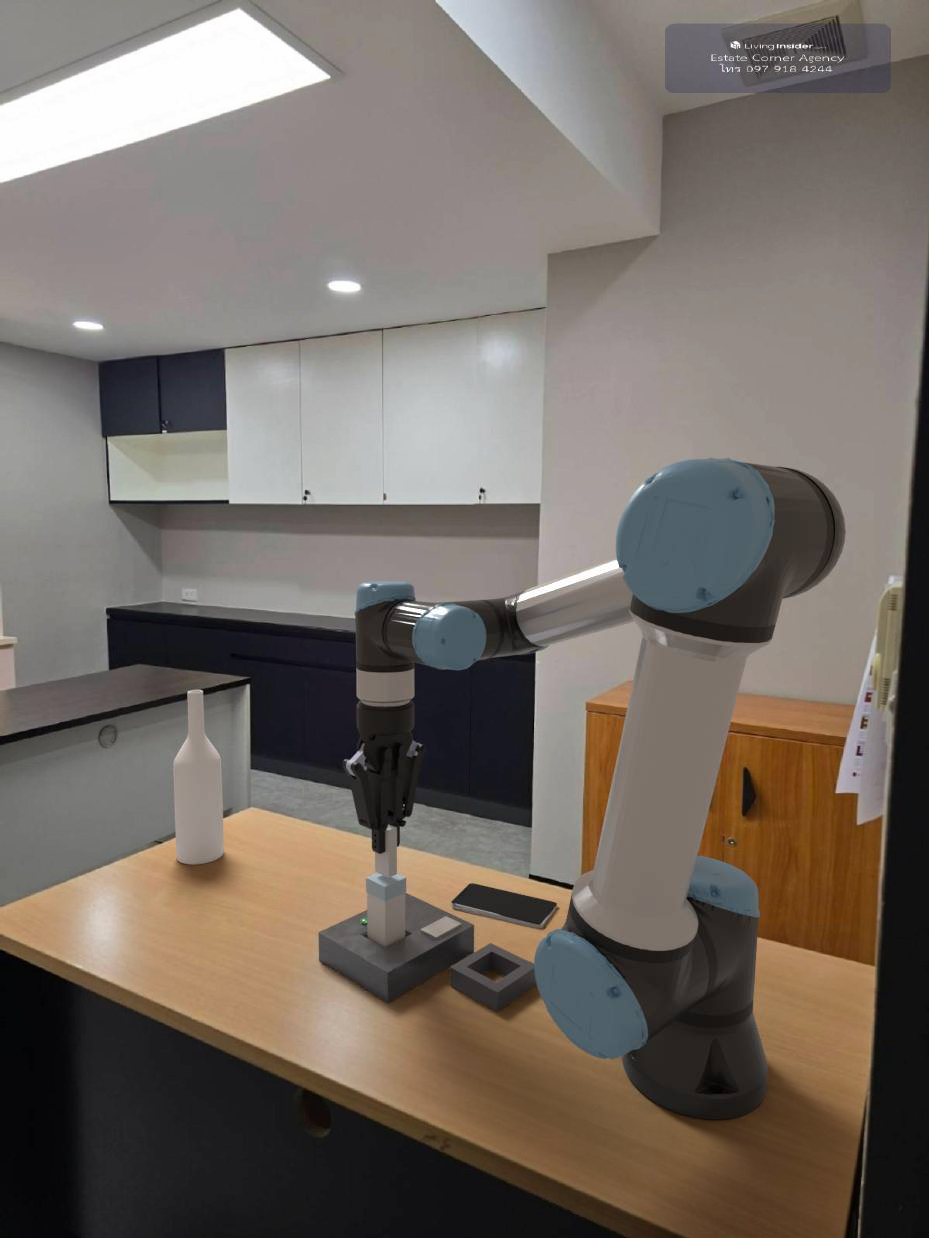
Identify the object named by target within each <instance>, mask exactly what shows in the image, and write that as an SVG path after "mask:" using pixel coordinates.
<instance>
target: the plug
mask: <svg viewBox="0 0 929 1238" xmlns="http://www.w3.org/2000/svg"><path fill="white" fill-rule="evenodd" d="M365 891H366V895H367V896H366V901H367V902H366V904H367V908H366V910H367V936H368V939H369V940H371V941H373V942H375V943H376V944H378V945H380V946H382V947H384V948H386V947H388V946H390V945H392V944H393V943H395V942H397V941H399V940H401V939H403V938H405V893H407V876H404V875H402V874H400V873H398V872H397V874H396V875H394V876H392V877H390V878H388V877H386V876H384V875H381V874H379V873H377V872H375V873H374V874H371V875H369V876H367V877H366V878H365Z"/></svg>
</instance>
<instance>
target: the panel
mask: <svg viewBox="0 0 929 1238" xmlns="http://www.w3.org/2000/svg"><path fill="white" fill-rule="evenodd" d="M474 952H475V924H474V923H472V922H470V921H466V920H465V919H463V918H460V916H459V917H458V916H456V915H454V914H452V913H450V912H448V911H445V910H443V909H441V908H439V907H437V906H435V905H433V904H431V903H429V902H428V901H427V902H426V901H425V900H423V899H420V898H418V897H416V896H414V895H412V894H409V893H407V892H405V938H403V939H401V940H399V941H397V942H395V943H393V944H392V945H390V946H388V947H386V948H384V947H382V946H380V945H378V944H376V943H375V942H373V941H371V940H369V939H368V936H367V909H366V910H364V911H362V912H359V913H357V914H355V915H353V916H351V917H349V918H347V919H344V920H342V921H340V922H338V923H335V924H333V925H331V926H329V927H326V928H325V929H322V930H320V931H318V961H320V962H321V963H323V964H325V965H326V966H328V967H329V968H331V969H333V970H334V971H336V972H337V973H338V974H341V975H342V976H344V977H345V978H347V979H349V980H350V981H352V982H353V983H355V984H357V985H358V986H360V987H361V988H363V989H365V990H366V991H368V992H369V993H371V994H372V995H375V996H376V997H378V999H381V1000H382V1001H383V1002H385V1003H387V1004H388V1003H389V1004H390V1002H392V1001H394V1000H395V999H397V998H399V997H400V996H403V995H404V994H405V993H408V992H409V991H411V990H412V989H414V988H416V987H417V986H419V985H421V984H422V983H424V982H425V981H428V980H429V979H431V978H433V977H434V976H436V975H438V974H440V973H441V972H443V971H444V970H446V969H448V968H450V967H451V966H452V965H454V964H456V963H458V962H459V961H461V960H463V959H464V958H466V957H468V956H469V955H471V954H473V953H474Z"/></svg>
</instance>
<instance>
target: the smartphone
mask: <svg viewBox="0 0 929 1238" xmlns="http://www.w3.org/2000/svg"><path fill="white" fill-rule="evenodd" d="M450 908H451V909H453V910H457V911H461V912H464V913H468V914H472V915H476V916H483V917H487V918H492V919H494V920H500V921H504V922H508V923H512V924H517V925H521V926H525V927H530V928H534V929H539V930H541V929H543V928H544V926H545V925H546V924H547V922H548V920H550V918H551V917H552V915H553V914H554V912H555V911H556V909H557V908H558V903H557V902H555V901H552V900H547V899H543V898H539V897H535V896H530V895H526V894H521V893H517V892H513V891H508V890H504V889H500V888H496V887H491V886H487V885H483V884H477V883H473V882H471V883H469V884H468V885H466V886H465V887H464V888H463V889H462V890H461V891H460V892H459V893H458V894H457V895H456V896H455V897H454V898H453V899H452V901H451V902H450Z"/></svg>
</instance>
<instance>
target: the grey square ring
mask: <svg viewBox="0 0 929 1238" xmlns="http://www.w3.org/2000/svg"><path fill="white" fill-rule="evenodd" d="M491 970H493V971H494V972H496V973H498V974H501V975H502V976H503V977H501V979H499V980H497V981H495V980H493V979H491V978H489V977H487V976H485V975H484V974H486V973H488V972H489V971H491ZM449 986H451V987H452V988H454V989H456V990H457V991H459V992H461V993H463V994H465V995H466V996H468V997H470V998H471V999H474V1000H475V1001H478V1002H479V1003H481V1004H483V1005H484V1006H486V1007H488V1008H490V1009H491V1010H493V1011H495V1012H499V1011H501V1010H502V1009H503V1008H505V1007H506V1006H508V1005H509V1004H510V1003H512V1002H514V1001H515V1000H516V999H518V998H519V997H520V996H522V995H523V994H525V993H526V992H527V991H529V990H531V989H532V988H533V987H535V986H537V983H536V978H535V972H534V962H532V961H529V960H527V959H524V958H523V957H520V956H518V955H516V954H515V953H512V952H511V951H508V950H506V949H505V948H502V947H500V946H498V945H495V944H493V942H490V943H488V944H487V945H485V946H483V947H481V948H480V949H478V950H476V951H474V952H473V953H472V954H470V955H468V956H467V957H465V958H463V959H461V960H460V961H458V962H456V963H455V964H453V965H451V966H450V967H449Z"/></svg>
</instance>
